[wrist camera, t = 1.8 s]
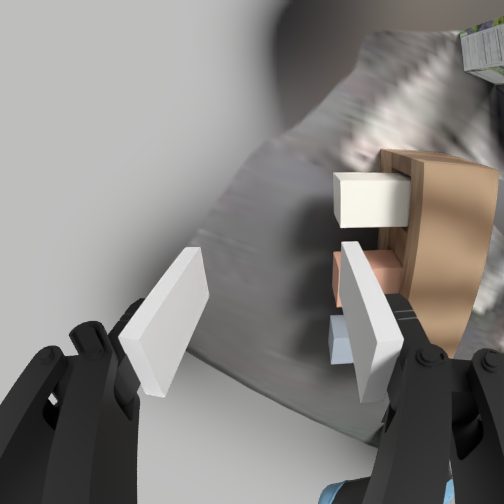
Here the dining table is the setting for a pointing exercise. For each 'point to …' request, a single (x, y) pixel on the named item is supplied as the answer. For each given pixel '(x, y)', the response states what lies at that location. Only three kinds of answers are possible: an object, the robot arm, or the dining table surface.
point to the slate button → (339, 341)
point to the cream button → (371, 199)
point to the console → (442, 238)
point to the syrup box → (484, 50)
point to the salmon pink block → (382, 266)
